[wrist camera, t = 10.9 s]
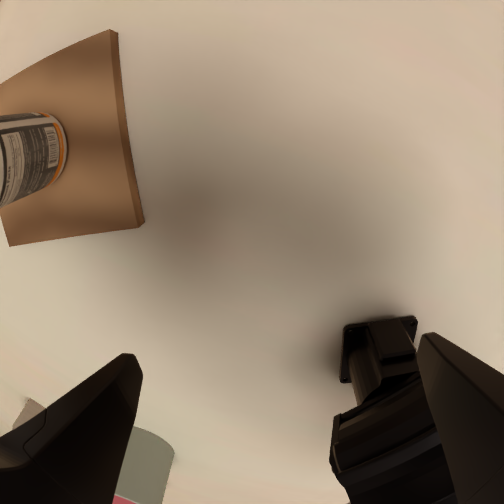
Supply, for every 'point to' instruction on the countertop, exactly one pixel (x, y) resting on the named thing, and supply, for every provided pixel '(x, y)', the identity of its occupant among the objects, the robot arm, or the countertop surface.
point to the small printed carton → (28, 412)
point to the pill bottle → (29, 154)
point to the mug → (144, 469)
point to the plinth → (77, 145)
